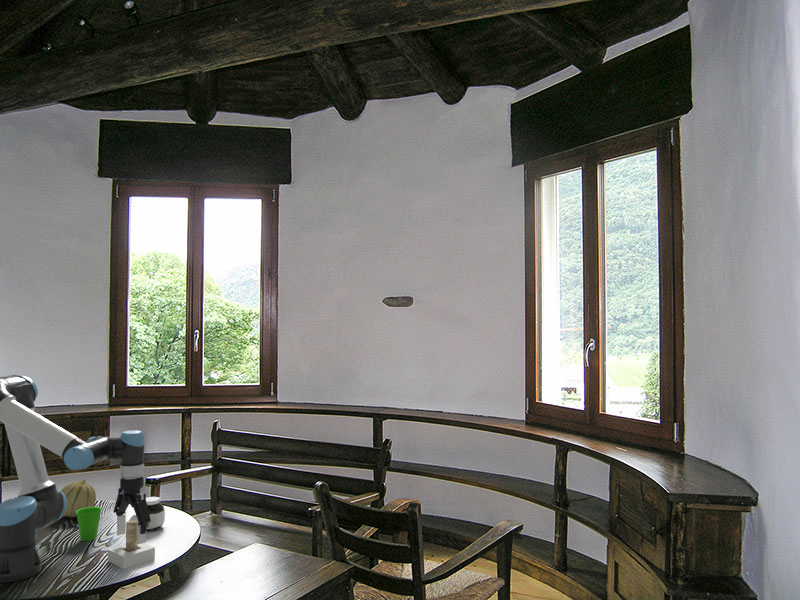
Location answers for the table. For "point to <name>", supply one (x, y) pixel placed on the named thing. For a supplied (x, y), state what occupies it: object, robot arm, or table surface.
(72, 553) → the table surface
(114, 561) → the socket block
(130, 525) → the peg
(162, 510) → the spread jar
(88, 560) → the table surface
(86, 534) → the cup
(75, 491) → the cantaloupe
